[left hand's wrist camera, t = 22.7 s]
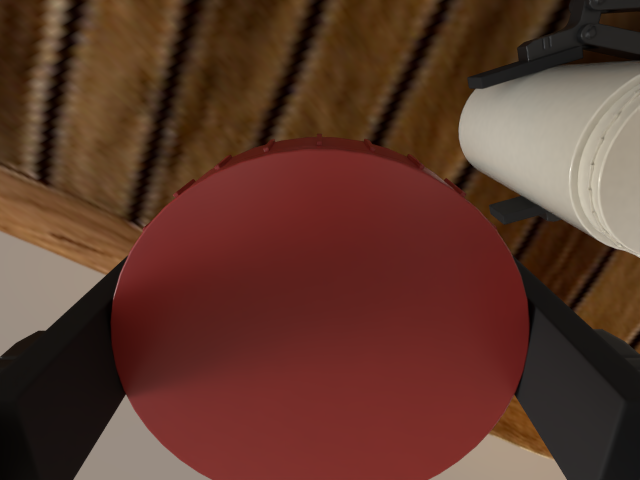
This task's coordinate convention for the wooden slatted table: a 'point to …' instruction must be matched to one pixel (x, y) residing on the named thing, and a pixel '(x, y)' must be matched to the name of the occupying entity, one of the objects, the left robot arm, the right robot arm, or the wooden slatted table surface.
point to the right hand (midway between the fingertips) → (486, 152)
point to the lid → (320, 318)
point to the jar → (565, 144)
